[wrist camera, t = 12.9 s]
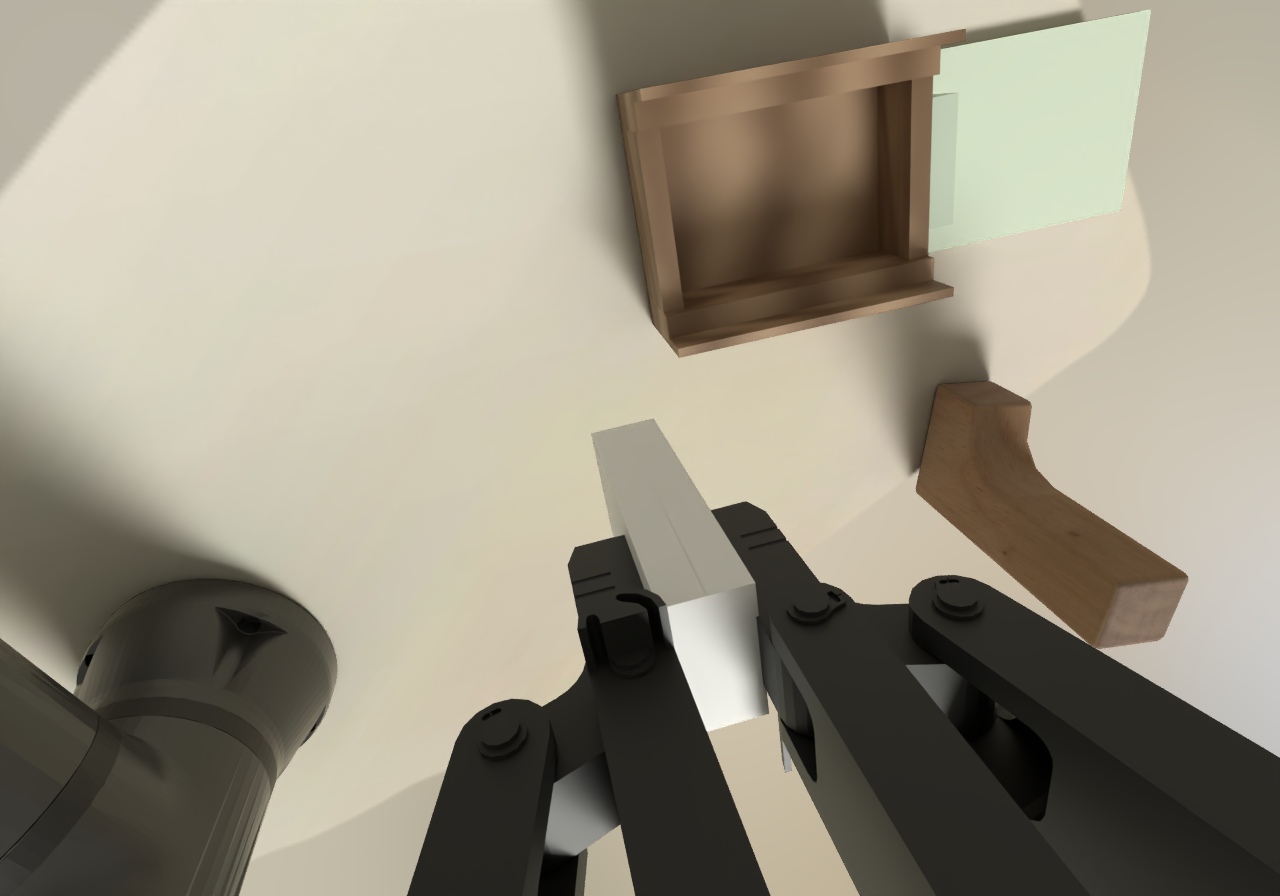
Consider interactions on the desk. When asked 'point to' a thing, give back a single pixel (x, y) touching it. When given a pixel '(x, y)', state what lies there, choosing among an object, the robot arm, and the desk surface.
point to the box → (785, 193)
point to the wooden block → (1039, 521)
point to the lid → (1033, 129)
